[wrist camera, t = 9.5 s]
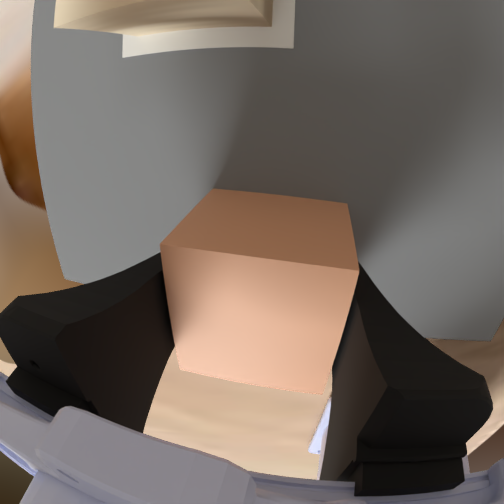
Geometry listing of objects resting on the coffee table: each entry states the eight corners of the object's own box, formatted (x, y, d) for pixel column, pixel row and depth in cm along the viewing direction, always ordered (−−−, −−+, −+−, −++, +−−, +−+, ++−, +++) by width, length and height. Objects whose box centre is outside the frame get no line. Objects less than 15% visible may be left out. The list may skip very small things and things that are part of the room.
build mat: (558, -6, 4) (565, -7, 3) (487, 334, 13) (491, 342, 12) (46, -33, 8) (38, -35, 7) (69, 274, 17) (63, 279, 16)
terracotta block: (347, 203, 11) (359, 270, 7) (326, 311, 14) (322, 394, 10) (212, 188, 12) (159, 244, 8) (215, 294, 14) (179, 369, 10)
